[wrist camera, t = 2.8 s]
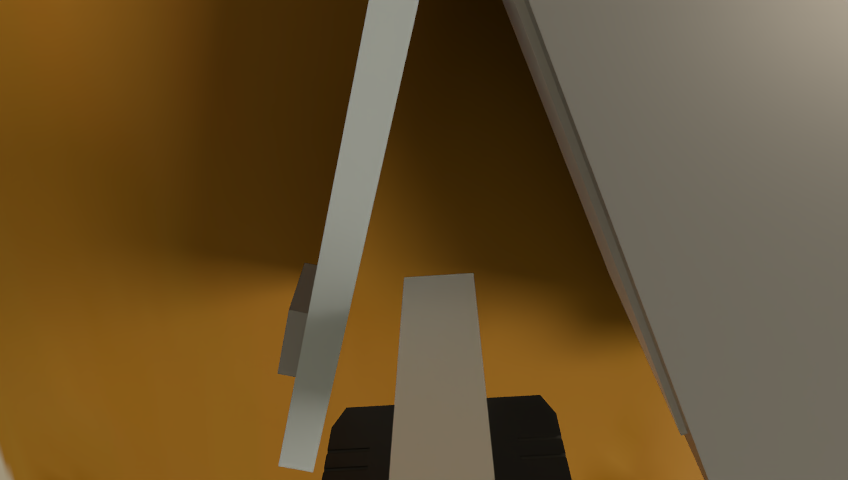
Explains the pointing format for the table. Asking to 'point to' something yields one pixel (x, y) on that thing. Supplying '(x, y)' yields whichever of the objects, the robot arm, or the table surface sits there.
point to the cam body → (716, 207)
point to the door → (343, 230)
